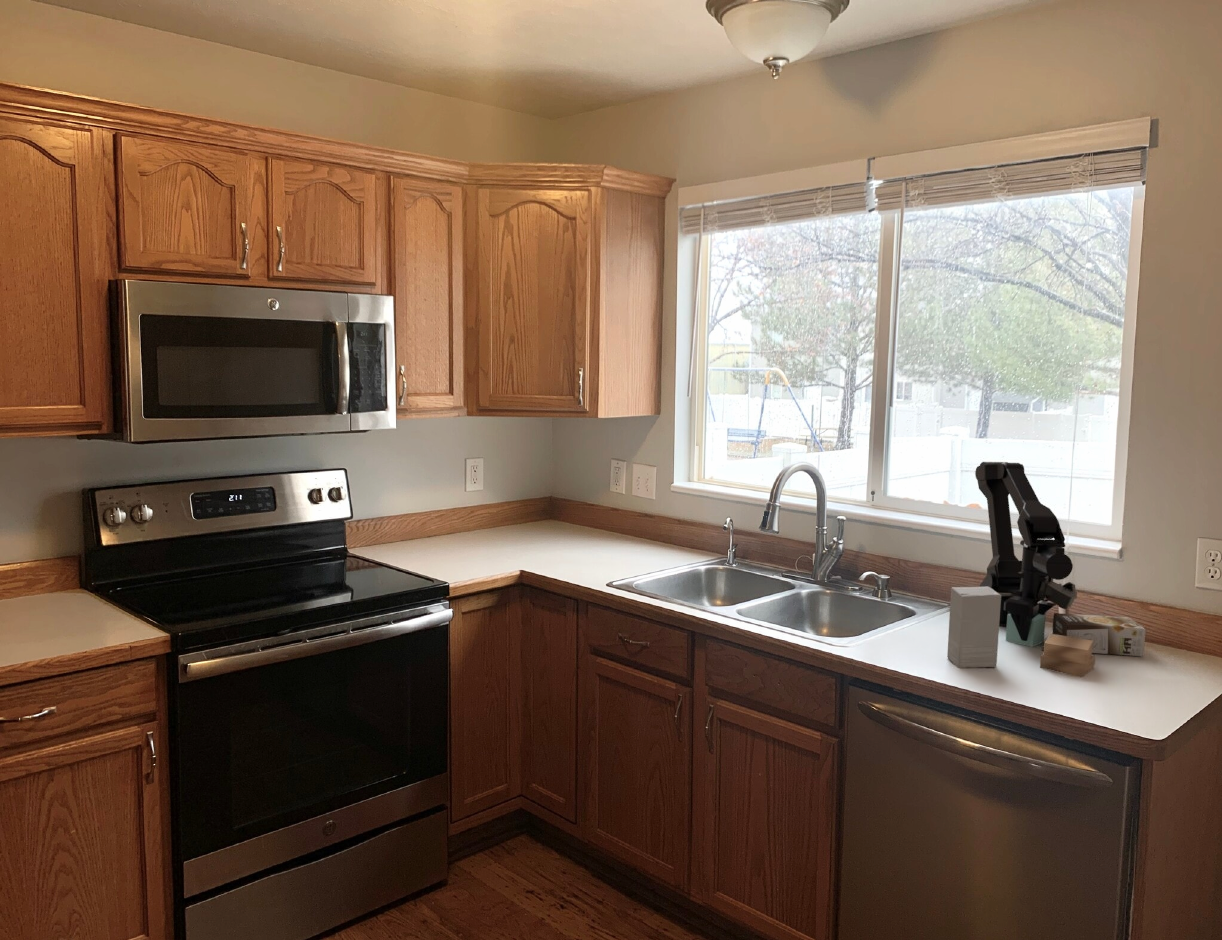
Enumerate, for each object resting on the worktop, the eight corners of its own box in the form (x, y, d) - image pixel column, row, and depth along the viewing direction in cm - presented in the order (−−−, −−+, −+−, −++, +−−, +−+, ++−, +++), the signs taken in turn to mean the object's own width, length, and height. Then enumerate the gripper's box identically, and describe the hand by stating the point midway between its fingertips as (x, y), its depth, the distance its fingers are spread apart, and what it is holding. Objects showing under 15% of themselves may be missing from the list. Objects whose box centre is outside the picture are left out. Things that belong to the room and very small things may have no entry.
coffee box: (1146, 628, 201) (1067, 623, 203) (1143, 657, 202) (1065, 652, 204) (1128, 616, 210) (1053, 612, 212) (1126, 644, 211) (1051, 640, 213)
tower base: (1039, 669, 193) (1040, 655, 193) (1053, 661, 199) (1054, 647, 199) (1081, 679, 188) (1082, 665, 188) (1093, 670, 194) (1095, 656, 193)
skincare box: (983, 658, 199) (989, 585, 197) (998, 669, 192) (1004, 593, 190) (944, 658, 198) (949, 584, 196) (957, 669, 191) (963, 593, 189)
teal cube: (1005, 640, 211) (1007, 614, 211) (1017, 635, 216) (1018, 609, 215) (1032, 647, 207) (1034, 620, 206) (1043, 641, 211) (1045, 615, 211)
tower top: (1043, 657, 192) (1044, 642, 192) (1049, 647, 199) (1050, 633, 198) (1086, 664, 188) (1087, 650, 187) (1091, 654, 194) (1092, 640, 194)
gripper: (1059, 582, 197) (1053, 654, 199) (1087, 568, 210) (1081, 636, 212) (1005, 573, 204) (1000, 642, 206) (1036, 560, 218) (1031, 626, 220)
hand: (1030, 637), depth 211 cm, fingers open, 7 cm apart
